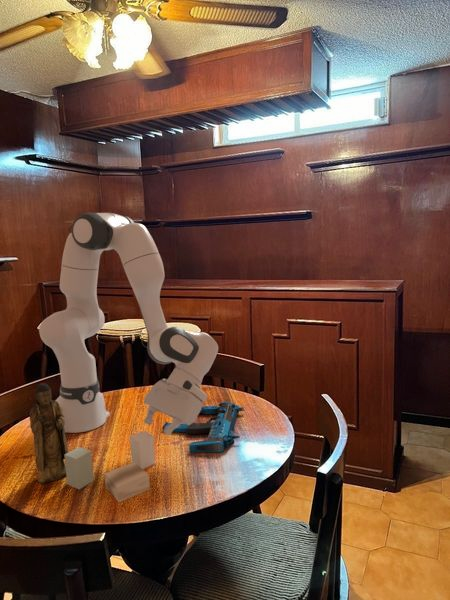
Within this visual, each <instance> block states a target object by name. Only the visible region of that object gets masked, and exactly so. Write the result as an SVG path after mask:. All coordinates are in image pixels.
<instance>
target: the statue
mask: <svg viewBox="0 0 450 600" xmlns="http://www.w3.org/2000/svg"><path fill="white" fill-rule="evenodd" d="M33 394H34V397H35V399H36V400H35V403H36V404H33V406H32V407H30V410H29V423H30V426H29V427H30V429H31V433H32V434H33V441H34V442H33V444H34V445H33V446H34V447H33V448H34V456H35V457H34V460H35V466H36V468H37V470H38V474H37V482H38V484H42V485H43V484H47V483H49V482H50V483H51V482H54V481H57V480H59V479H61V478H63V477H65V476H66V466H65V457H64V455H65V454H67V453H68V452H69V449H68V441H67V437H66V432H65V427H64V425H65V419H64V418H65V417H64V414H63V411H62V408H61V406H60V404H59V403H58V402H57V401H55V400H53V399H52V398H53V396H52V390H51V386H49V385H48V383H43V382H42V383H39V384H38V385H37V386H36V388H35V392H34V393H33ZM66 477H67V476H66Z"/></svg>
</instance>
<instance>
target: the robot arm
mask: <svg viewBox="0 0 450 600" xmlns="http://www.w3.org/2000/svg"><path fill="white" fill-rule="evenodd" d="M104 251H115V252H116V253H117V254H118V255H119V258H120V262H121V264H122V267H123V269H124V272H125V274H126V278H127V279H128V282H129V284H130V286H131V289H132V290H133V293H134V296H135V298H136V301H137V304H138V307H139V311H140V313H141V316H142V320H143V323H144V326H145V330H146V333H147V343H146V346H147V348H146V349H147V354H148V356H149V357H150V359H151V360H152V361H154V362H155V363H157V364H160V365H168V364H171V363H174V364H175V367H174V369H173V371H172V372H171V374H170V375H169V376H168V378H162V379H160V380H158V381H157V382H156V383H155V384H153V386H152V387H151V389H149V391H148V392H147V394H146V395H145V397H144V398H143V403H144V404H145V405H147V406H148V408H147V412H146V415H145V416H146V417H145V418H144V420H143V423H145V424H146V425H148V426H152V423H153V422H154V419H153V418H154V414H156V413H157V411H158V412H159V413H162V414H163V415H166V416H168V417H170V418H172V419H171V420H172V422H170V423H171V424H170V425H169V426H166V427H165V429H164V430H162V432H163V433H165V434H166V435H167V436H171V435H172V433H173V432H172V431H173V430H174V429H176V428H177V427H178V426H180V424H187V425H191V424H192V423H195V421H196V420H197V418H198V416H199V413H200V411H201V408H202V406H204V405H203V403H205V402H206V401H207V400H208V395H207V394H206V393H205V392H204V391H203V389H202V388H201V384H202V382H203V378H204V376H205V375H207V373H208V372H209V371H210V369H211V368H212V365H213V364H214V361H215V360H216V357H217V354H218V352H219V345H218V343H217V341H216V340H215V339H214V338H213V337H212V336H211V335H210V334H208V333H206V332H205V331H204V332H203V331H200V332H199V331H197V332H196V331H195V332H194V331H190V330H186V329H183V328H182V327H178V326H171V327H168V324H167V321H166V319H165V315H164V312H163V308H162V305H161V300H160V298H161V297H160V296H161V290H162V286H163V283H164V282H165V278H166V277H165V276H166V275H165V269H164V263H163V260H162V257H161V254H160V253H159V250H158V247H157V245H156V243H155V241H154V239H153V236H152V235H151V234H150V232H149V230H148V228H147V227H146V226H145V225H144V224H142V223H140V222H135V221H134V220H133V219H132V218H131V217H129V216H127V215H124V214H117V213H112V212H85V213H81V214H79V215H78V216H76V217H75V218H74V220H73V222H72V225H71V233H69V234H68V236H67V238H66V242H65V244H64V249H63V253H62V258H61V268H60V275H59V276H60V279H59V290H60V291H61V293H62V294H64V296H65V299H66V308H65V309H63V310H61V311H56V312H53V313H52V314H50V315H49V316H47V317H46V318H45V319H43V320H42V322H41V323H40V325H39V328H38V329H39V330H38V332H39V337H40V339H41V341H42V342H43V343H44V344H45V345H46V346H48V347H49V348H50V349H52V351H53V353H54V354H55V357H56V359H57V361H58V365H59V373H60V381H61V383H60V387H59V396H58V397H57V398H56V399H55V400H54V401H57V402H58V403H59V404H60V406H61V408H62V411H63V414H64V417H65V418H64V419H65V425H64V427H65V433H70V434H71V433H73V434H76V433H77V434H78V433H83V432H89V431H92V430H95V429H97V428H100V427H101V426H102V425H104V424H105V422H106V420H107V418H109V417H110V415H111V414H110V411H107V408H106V403H105V397H104V394H103V393H102V392H100V382H99V379H98V376H97V375H98V374H97V366H96V358H95V356H94V355H93V354H91V353H90V352H89V351H88V350H87V349H88V348H87V347H86V344H85V340H86V339H88V338H90V337H93V336H94V335H96V334H97V333H98V332H99V331H100V330H102V329H103V327H104V325H105V319H106V318H105V315H104V314H105V313H104V312H103V310H102V309H101V308H100V306H99V303H98V295H97V293H98V291H97V290H98V289H97V286H98V278H99V267H100V259H101V256H102V253H103V252H104ZM200 414H201V413H200Z"/></svg>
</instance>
